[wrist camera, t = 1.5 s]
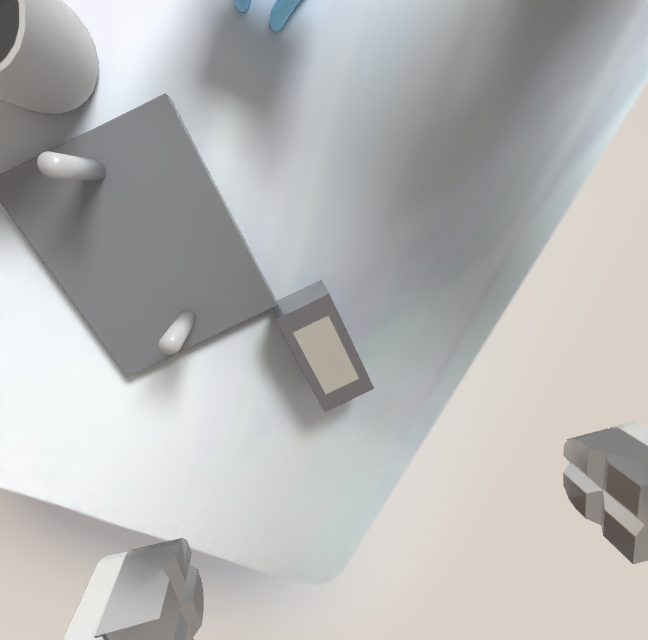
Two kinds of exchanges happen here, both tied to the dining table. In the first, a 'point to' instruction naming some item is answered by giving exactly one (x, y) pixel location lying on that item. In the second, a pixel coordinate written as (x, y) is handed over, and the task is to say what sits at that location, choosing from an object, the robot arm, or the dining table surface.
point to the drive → (322, 346)
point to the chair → (273, 11)
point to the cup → (45, 56)
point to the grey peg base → (138, 236)
